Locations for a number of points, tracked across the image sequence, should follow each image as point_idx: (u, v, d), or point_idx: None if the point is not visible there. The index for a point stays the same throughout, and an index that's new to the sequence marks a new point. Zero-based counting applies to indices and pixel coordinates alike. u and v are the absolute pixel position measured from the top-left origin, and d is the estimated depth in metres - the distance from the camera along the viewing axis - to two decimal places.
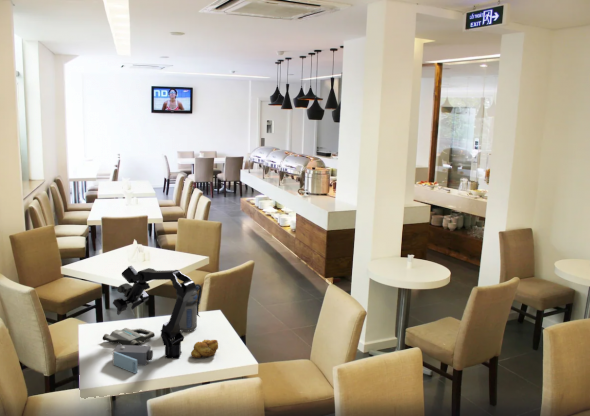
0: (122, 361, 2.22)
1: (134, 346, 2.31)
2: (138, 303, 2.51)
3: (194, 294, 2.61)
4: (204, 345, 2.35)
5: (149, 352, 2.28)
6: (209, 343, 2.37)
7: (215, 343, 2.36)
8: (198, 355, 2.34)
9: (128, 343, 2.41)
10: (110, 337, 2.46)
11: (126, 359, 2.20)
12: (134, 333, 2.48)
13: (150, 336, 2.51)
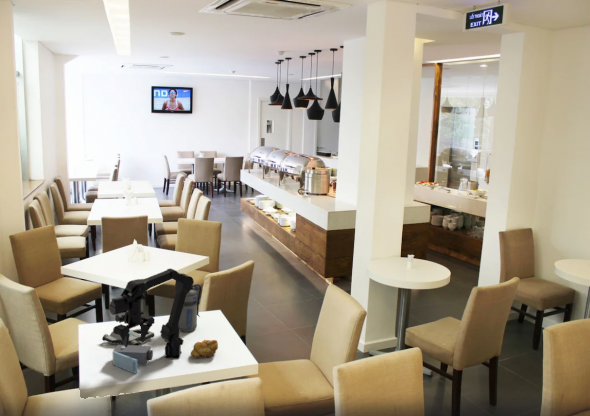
0: (122, 361, 2.22)
1: (134, 346, 2.31)
2: (145, 330, 2.24)
3: (194, 294, 2.61)
4: (204, 345, 2.35)
5: (149, 352, 2.28)
6: (209, 343, 2.36)
7: (215, 343, 2.36)
8: (198, 355, 2.34)
9: (128, 343, 2.41)
10: (110, 337, 2.45)
11: (126, 359, 2.20)
12: (134, 333, 2.48)
13: (150, 336, 2.51)
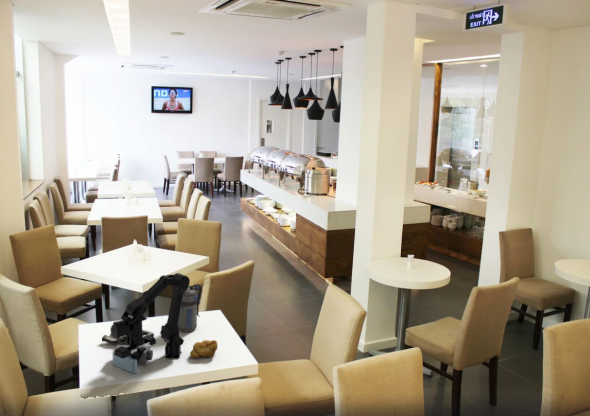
0: (122, 361, 2.22)
1: None
2: (139, 354, 2.21)
3: (194, 294, 2.61)
4: (203, 345, 2.35)
5: (149, 352, 2.28)
6: (208, 344, 2.36)
7: (214, 344, 2.36)
8: (197, 355, 2.34)
9: None
10: (109, 338, 2.44)
11: (126, 359, 2.20)
12: None
13: None
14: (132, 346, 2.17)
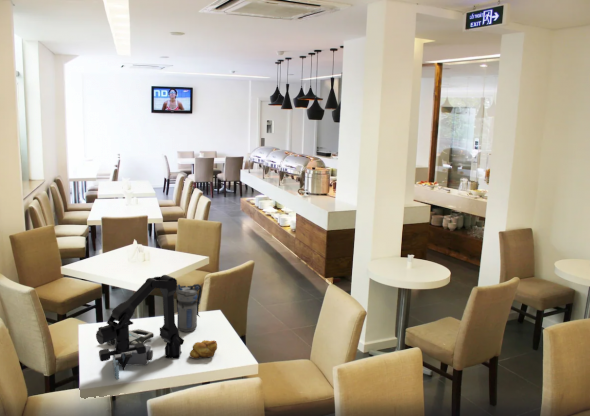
0: (114, 363, 2.19)
1: None
2: (124, 360, 2.14)
3: (194, 294, 2.61)
4: (203, 346, 2.35)
5: (149, 352, 2.28)
6: (208, 344, 2.36)
7: (214, 344, 2.35)
8: (196, 356, 2.33)
9: None
10: None
11: (114, 362, 2.17)
12: (133, 334, 2.47)
13: (149, 336, 2.50)
14: (116, 351, 2.13)
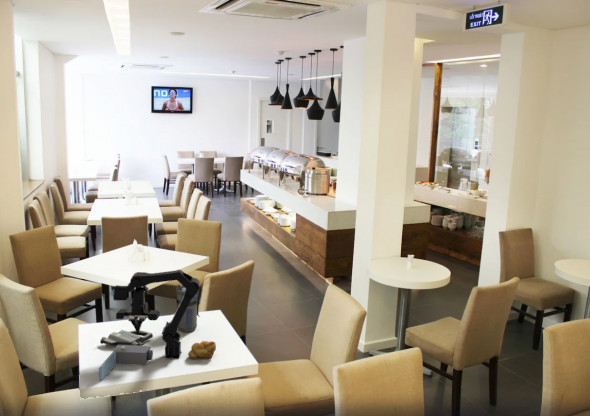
0: None
1: (134, 346, 2.31)
2: None
3: None
4: (201, 346, 2.34)
5: (149, 352, 2.28)
6: (206, 345, 2.35)
7: (212, 345, 2.34)
8: (195, 356, 2.33)
9: None
10: (108, 340, 2.42)
11: None
12: (133, 335, 2.46)
13: (149, 337, 2.50)
14: (131, 312, 2.30)
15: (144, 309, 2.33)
